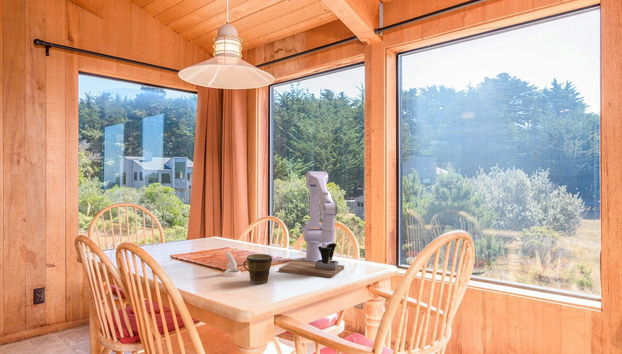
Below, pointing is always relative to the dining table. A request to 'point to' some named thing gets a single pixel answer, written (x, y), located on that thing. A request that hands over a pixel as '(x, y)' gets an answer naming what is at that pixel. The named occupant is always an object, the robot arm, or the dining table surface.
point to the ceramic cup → (258, 267)
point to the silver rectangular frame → (326, 265)
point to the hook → (231, 267)
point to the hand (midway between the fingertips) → (327, 261)
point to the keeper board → (309, 269)
